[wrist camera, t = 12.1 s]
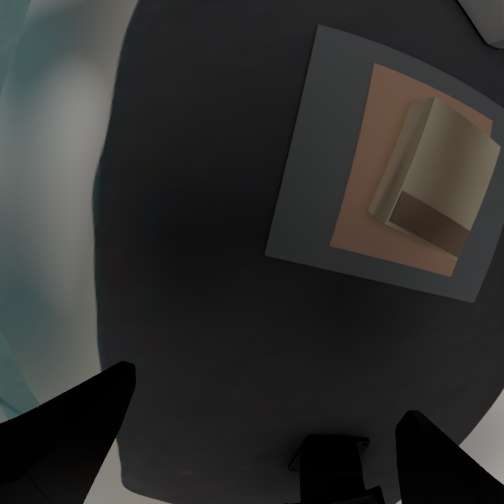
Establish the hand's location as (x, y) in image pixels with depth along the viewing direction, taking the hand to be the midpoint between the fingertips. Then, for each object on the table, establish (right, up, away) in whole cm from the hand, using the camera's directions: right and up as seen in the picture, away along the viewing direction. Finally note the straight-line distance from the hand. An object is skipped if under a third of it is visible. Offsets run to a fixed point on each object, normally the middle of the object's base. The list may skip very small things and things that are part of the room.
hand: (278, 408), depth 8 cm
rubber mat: (+9, +9, +8) cm, 15 cm away
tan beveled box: (+9, +9, +7) cm, 15 cm away
